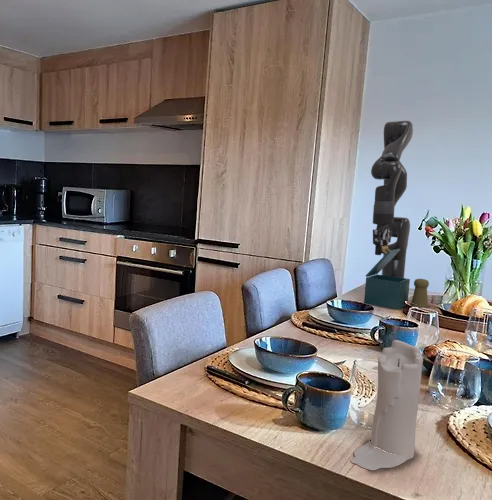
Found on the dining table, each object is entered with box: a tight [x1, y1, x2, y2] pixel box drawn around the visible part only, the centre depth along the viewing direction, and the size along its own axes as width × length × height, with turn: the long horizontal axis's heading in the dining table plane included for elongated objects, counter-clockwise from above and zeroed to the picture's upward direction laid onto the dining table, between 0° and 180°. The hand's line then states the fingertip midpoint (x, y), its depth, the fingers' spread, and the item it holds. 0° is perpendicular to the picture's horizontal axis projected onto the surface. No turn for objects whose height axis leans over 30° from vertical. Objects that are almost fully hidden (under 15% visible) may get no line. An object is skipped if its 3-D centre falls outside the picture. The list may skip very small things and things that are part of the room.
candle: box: [350, 339, 424, 471], centre depth 89 cm, size 7×14×20 cm, turn 125°
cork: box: [410, 278, 430, 309], centre depth 200 cm, size 6×6×11 cm
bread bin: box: [363, 273, 411, 310], centre depth 202 cm, size 13×11×11 cm
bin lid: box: [365, 246, 400, 278], centre depth 203 cm, size 14×11×5 cm
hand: (381, 254), depth 203 cm, fingers closed on bin lid, 5 cm apart
